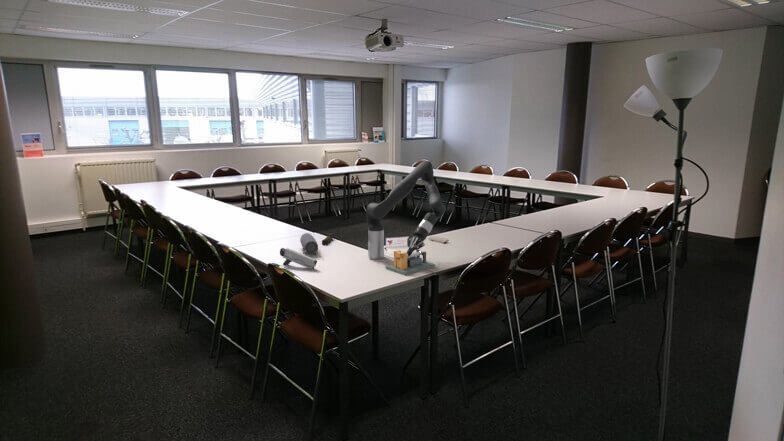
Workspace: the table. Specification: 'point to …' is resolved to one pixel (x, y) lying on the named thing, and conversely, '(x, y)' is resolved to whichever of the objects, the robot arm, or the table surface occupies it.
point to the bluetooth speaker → (309, 243)
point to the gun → (297, 258)
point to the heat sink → (414, 262)
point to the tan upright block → (400, 260)
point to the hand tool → (327, 239)
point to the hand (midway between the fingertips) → (408, 254)
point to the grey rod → (415, 254)
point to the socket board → (414, 269)
